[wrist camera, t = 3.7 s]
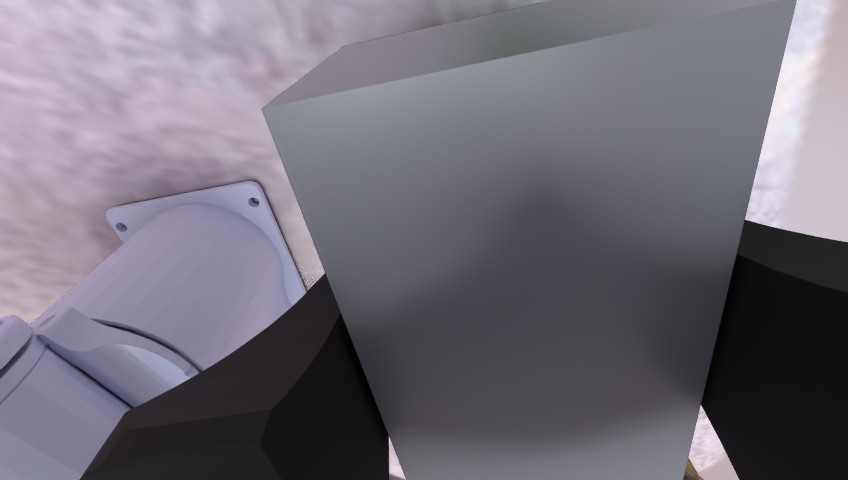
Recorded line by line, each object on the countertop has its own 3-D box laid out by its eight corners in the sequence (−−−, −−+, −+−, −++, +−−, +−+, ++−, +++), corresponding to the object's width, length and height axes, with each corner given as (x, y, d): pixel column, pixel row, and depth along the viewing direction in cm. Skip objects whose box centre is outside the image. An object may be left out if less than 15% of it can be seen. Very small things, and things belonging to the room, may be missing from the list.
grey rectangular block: (581, 317, 15) (676, 506, 10) (423, 341, 16) (427, 534, 10) (582, -7, 10) (797, -5, 4) (344, 45, 11) (261, 109, 5)
